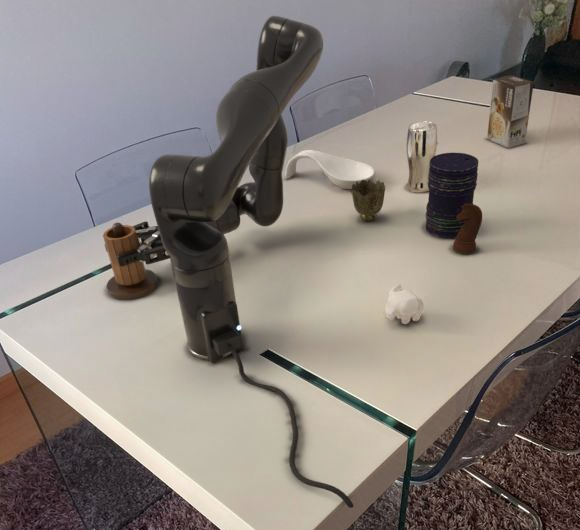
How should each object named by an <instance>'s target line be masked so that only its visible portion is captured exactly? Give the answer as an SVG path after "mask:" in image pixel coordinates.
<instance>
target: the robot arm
mask: <svg viewBox="0 0 580 530" xmlns="http://www.w3.org/2000/svg"><path fill="white" fill-rule="evenodd" d="M257 44H258V45H257V52H256V68H255V69H256V70H254V71H251V72H249V73H247V74H244V75H242V76H241V77H239V79H237V80H236V81H235V82H234V83H233V84H232V85H231V87H230V88H229V89H228V91H227V92H226V93H225V95H223V97H222V98H221V100H220V102H219V104H218V105H217V107H216V113H215V124H216V129H217V134H218V137H219V140H220V144H219V145H218V146H217V148H216V149H215V151H213V152H212V153H211V154H209V155H206V156H200V155H198V156H197V155H185V154H174V153H173V154H172V153H170V154H162V155H161V156H159V157H157V158H156V160H155V161H154V162H153V164H152V166H151V169H150V172H149V178H148V190H149V191H148V192H149V199H150V204H151V208H152V211H153V212H152V213H153V216H154V218H155V222H156V225H153V226H150V225H149V222H148V221H145V220H144V221H142V222H140V223H136V224H135V225H132V226H133V227H134V228H135V230H136V234H137V238H138V242H139V246H140V247H139V248H137V249H136V250H135V249H134V250H132V251H129V252H126V253H123V254H120V255H118V256H117V261H118V264H119V265H120V266H121V267H122V266H125V265H128V264H131V263H134V262H136V261H140V262H144V264H146V265H151V264H152V265H153V264H155V263H159V262H161V261H165V260H166V261H167V260H170V265H171V269H172V274H173V279H174V284H175V289H176V293H177V298H178V302H179V308H180V312H181V317H182V322H183V327H184V331H185V335H186V340H187V348H188V351H189V353H190V354H191V355H192V356H194V357H195V358H197V359H201V360H207V361H209V362H210V363H216V362H218V361H221V360H223V359H225V358H227V357H230V356H233V357H234V359H235V362H236V363H237V366H238V373H239V376H240V378H242V379H243V380H244V381H245V382H246V383H247V384H249V385H250V386H254V387H257V388H260V389H264V390H267V391H270V392H273V393H276V394H277V395H279V396H280V397H281V398H282V399H283V401H284V402H285V404H286V405H287V408H288V411H289V416H290V422H291V428H292V442H291V445H290V450H289V457H288V462H289V467H290V470H291V472H292V474H293V476H294V477H295V478H296V479H297V480H298V481H300V483H302V484H305V485H308V486H311V487H314V488H316V489H317V488H318V489H322V490H325V491H328V492H331V493H333V494H335V495H336V496H337V497H339V498H340V499H341V500H342V501H343V502H344V503H345V505H346V506H347V507H348V508H350V509H352V508H354V503H353V501H352V500H351V499H350V497H349V496H348V495H347V494H346V493H345V492H344V491H342V490H341V489H340V488H338V487H336V486H333V485H331V484H328V483H324V482H320V481H316V480H313V479H309V478H307V477H305V476H303V475H302V474H301V473H300V472H299V470H298V469H297V466H296V462H295V461H296V460H295V457H296V454H295V453H296V450H297V445H298V440H299V430H298V429H299V428H298V423H297V417H296V412H295V407H294V405H293V403H292V401H291V399H290V398H289V397H288V395H287V394H286V393H285V392H284V391H283V390H282V389H279V388H278V387H276V386H272V385H268V384H263V383H260V382H257V381H254V380H253V379H251V378H250V377H248V375H247V374H246V373H245V369H244V365H243V361H242V359H241V357H240V355H239V354H238V352H241V351H242V350H244V342H243V335H242V326H241V322H240V316H239V310H238V309H239V308H238V304H237V299H236V293H235V285H234V279H233V278H234V277H233V272H232V264H231V257H230V249H229V244H228V241H227V238H226V236H225V235H227V234H229V233H232V232H234V231H236V230H237V229H239V227H240V225H241V216H243V215H246V216H247V217H248V218H249V219H251V220H252V222H253V223H255V224H257V225H258V226H260V227H265V228H267V227H270V226H272V225H274V224H275V223H276V222H277V221H278V220H279V218H280V217H281V215H282V211H283V208H284V180H283V170H284V166H285V160H286V155H287V150H288V142H289V141H288V130H287V127H286V124H285V121H284V118H283V115H282V114H283V113H284V111H285V109H286V107H287V106H288V105H289V103H290V102H291V100H292V99H293V97H294V96H295V95H296V94H297V93H298V91H299V90H300V89H301V88H302V87H303V86H304V85H305V83H306V82H308V80H309V79H310V78H311V76H312V75H313V73H314V72H315V70H316V69H317V67H318V65H319V63H320V60H321V57H322V54H323V49H324V39H323V35H322V33H321V30H319V29H318V28H316V27H315V26H313V25H311V24H307V23H305V22H300V21H298V20H294V19H290V18H287V17H284V16H280V15H271V16H269V17H268V18H267V19H266V21H265V22H264V24H263V26H262V28H261V30H260V34H259V39H258V43H257ZM247 169H248V171H249V174H250V176H251V177H252V179H253V181H252V182H251V181H250V182H245V183H243V184H241V181H242V179H243V177H244V175H245V173H246V171H247ZM240 184H241V185H240ZM239 185H240V186H239ZM104 248H105V252H107V248H106V245H105V244H104Z"/></svg>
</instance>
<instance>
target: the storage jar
mask: <svg viewBox="0 0 580 530" xmlns="http://www.w3.org/2000/svg"><path fill="white" fill-rule="evenodd" d="M478 170H479V159H478V158H477V157H476V156H474V155H472V154H469V153H464V152H444V153H440V154H435V156H434V157H432V158H431V159H430V168H429V173H428V188H429V191H428V200H427V202H426V203H427V204H426V207H425V209H426V210H425V223H426V224H425V231H426V232H427V233H428V234H429V235H431V236H433V237H435V238H439V239H443V240H445V239H447V240H453V239H455V240H456V236H457V235H458V232H459V231H460V229H461V227H462V226H463V224H464V223H465V222H466V221H467V219H465V220H461V221H459V222H458V221H457V219H456V217H457V216H458V215H459V214H460V213H461V212H462V210H463V209H462V208H461V206H463V205H465V204H464V203H466V204H474V197H475V196H474V195H475V190H476V189H477V185H478V183H477V182H478V172H479V171H478Z"/></svg>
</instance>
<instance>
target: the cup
mask: <svg viewBox="0 0 580 530" xmlns="http://www.w3.org/2000/svg"><path fill="white" fill-rule="evenodd" d="M372 181H373V180H372V179H371V180H370V179H369V180H368V182H367V181H366V180H361V182H360V183H359V182H356V185H355V184H353V185H352V189H351V195H352V203H353V207H354V209H355V211H356V212H357V213H358V214H359V217H360V219H361V221H363V222H373V221H374V220H376V219H377V217H378V216H377V215H378V214H379V212H380V211H381V210H382V208H383V205H384V201H385V194H386V193H385V192H386V184H385V182H384V181H380V179H377V180H376V183H375V182H372Z"/></svg>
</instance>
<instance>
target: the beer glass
mask: <svg viewBox="0 0 580 530" xmlns="http://www.w3.org/2000/svg"><path fill="white" fill-rule="evenodd" d="M437 147H438V124H437V123H434V122H433V121H424V120H423V121H414V122H412V123H409V124H408V126H407V135H406V156H407V164H408V179H407V184H406V189H407V190H408V191H409V192H412V193H417V194H419V193H426V192H429V188H428V173H429V168H430V159H431V158H432V157H434V156H436V155H437V154H436V153H437Z"/></svg>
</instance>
